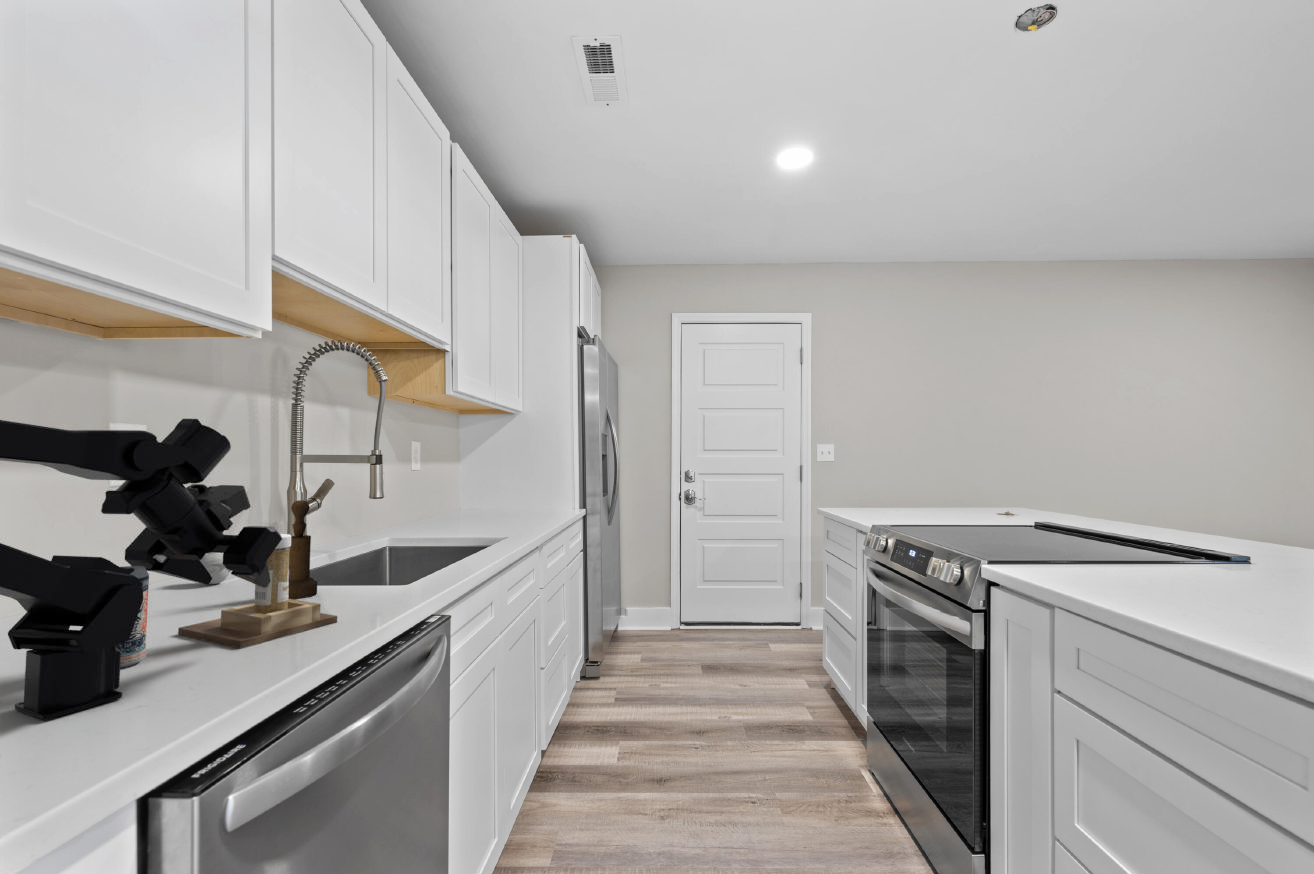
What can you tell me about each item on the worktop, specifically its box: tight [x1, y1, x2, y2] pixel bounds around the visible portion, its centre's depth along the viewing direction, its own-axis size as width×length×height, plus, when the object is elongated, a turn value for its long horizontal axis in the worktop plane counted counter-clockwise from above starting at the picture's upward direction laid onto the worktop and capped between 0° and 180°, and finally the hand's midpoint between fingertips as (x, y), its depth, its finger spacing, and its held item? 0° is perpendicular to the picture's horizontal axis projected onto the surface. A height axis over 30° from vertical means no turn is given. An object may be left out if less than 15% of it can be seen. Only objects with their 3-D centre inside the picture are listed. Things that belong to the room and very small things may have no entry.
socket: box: [177, 599, 338, 649], centre depth 93 cm, size 15×14×4 cm
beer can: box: [116, 565, 150, 669], centre depth 76 cm, size 5×5×12 cm
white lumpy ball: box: [200, 552, 232, 585], centre depth 124 cm, size 6×7×7 cm
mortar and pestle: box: [288, 499, 318, 600], centre depth 115 cm, size 7×6×18 cm
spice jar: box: [254, 533, 292, 614], centre depth 92 cm, size 5×5×14 cm
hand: (238, 583), depth 86 cm, fingers open, 9 cm apart
